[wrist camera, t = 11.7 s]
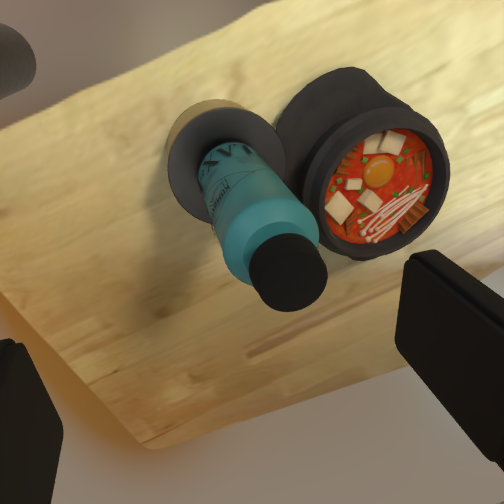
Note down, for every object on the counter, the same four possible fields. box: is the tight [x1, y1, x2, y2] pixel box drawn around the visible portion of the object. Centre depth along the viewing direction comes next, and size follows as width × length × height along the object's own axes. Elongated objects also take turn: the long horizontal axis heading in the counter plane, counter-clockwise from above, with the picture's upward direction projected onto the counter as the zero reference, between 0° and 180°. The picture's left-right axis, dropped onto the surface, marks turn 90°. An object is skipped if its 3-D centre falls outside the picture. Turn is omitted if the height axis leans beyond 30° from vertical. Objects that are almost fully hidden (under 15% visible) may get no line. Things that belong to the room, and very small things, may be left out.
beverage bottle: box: [197, 141, 328, 312], centre depth 29 cm, size 6×7×20 cm
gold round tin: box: [166, 99, 286, 224], centre depth 41 cm, size 11×11×7 cm
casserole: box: [276, 67, 450, 261], centre depth 45 cm, size 25×19×8 cm
